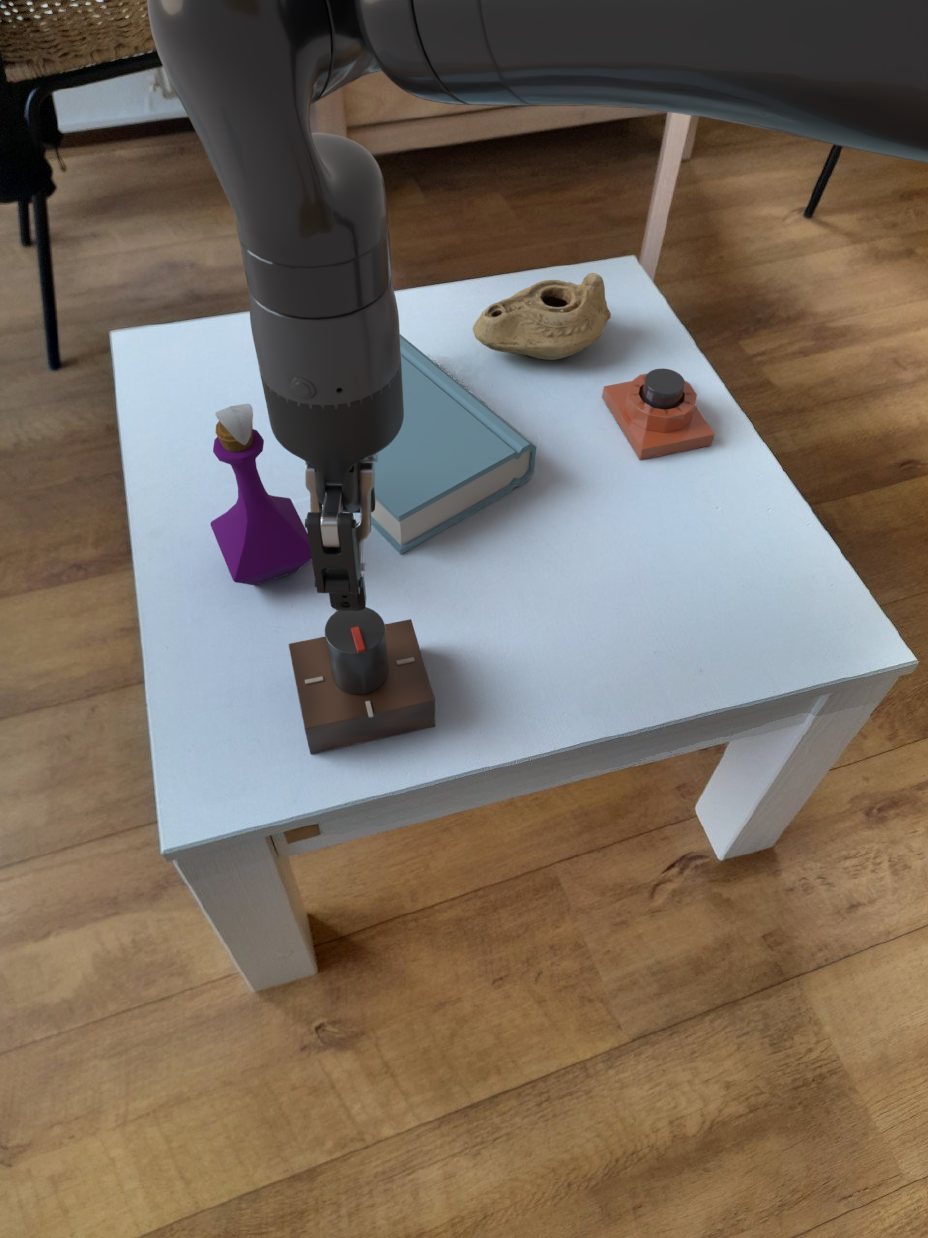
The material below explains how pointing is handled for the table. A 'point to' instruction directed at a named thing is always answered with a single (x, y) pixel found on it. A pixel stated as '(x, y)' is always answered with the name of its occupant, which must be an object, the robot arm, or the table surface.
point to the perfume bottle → (255, 509)
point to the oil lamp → (546, 319)
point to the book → (443, 456)
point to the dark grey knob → (663, 389)
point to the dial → (357, 650)
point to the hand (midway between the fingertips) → (354, 555)
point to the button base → (657, 420)
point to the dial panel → (369, 715)
